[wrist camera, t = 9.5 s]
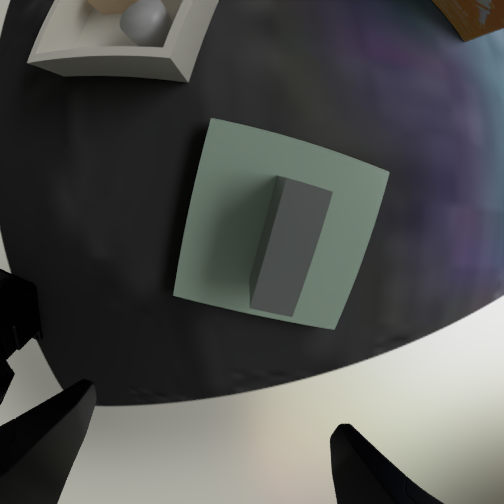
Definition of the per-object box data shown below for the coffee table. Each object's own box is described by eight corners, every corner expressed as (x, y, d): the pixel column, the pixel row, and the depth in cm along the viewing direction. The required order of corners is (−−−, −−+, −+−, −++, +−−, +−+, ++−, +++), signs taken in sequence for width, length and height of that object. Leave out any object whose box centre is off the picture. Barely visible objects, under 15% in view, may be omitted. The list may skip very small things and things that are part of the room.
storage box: (63, 76, 15) (26, 62, 11) (111, -27, 12) (89, -53, 7) (188, 82, 16) (170, 57, 12) (232, -29, 13) (229, -66, 8)
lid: (178, 285, 21) (157, 325, 15) (214, 122, 18) (200, 104, 12) (328, 318, 22) (349, 362, 16) (378, 171, 19) (421, 176, 13)
